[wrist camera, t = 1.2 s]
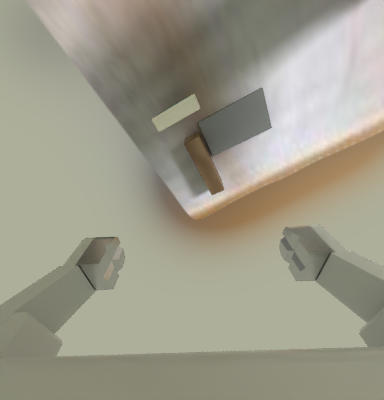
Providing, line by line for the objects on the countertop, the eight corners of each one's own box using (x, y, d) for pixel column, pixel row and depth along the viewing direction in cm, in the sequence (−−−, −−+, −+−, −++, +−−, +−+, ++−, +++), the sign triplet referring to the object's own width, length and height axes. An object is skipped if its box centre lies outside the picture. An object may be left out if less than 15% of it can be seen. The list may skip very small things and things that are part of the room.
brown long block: (198, 131, 33) (198, 136, 29) (221, 180, 38) (224, 190, 35) (185, 138, 33) (184, 144, 30) (210, 185, 39) (211, 195, 35)
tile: (194, 92, 29) (194, 92, 22) (199, 104, 30) (200, 108, 23) (160, 112, 31) (150, 118, 24) (166, 123, 32) (158, 132, 25)
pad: (261, 87, 28) (262, 87, 28) (270, 127, 32) (271, 127, 31) (198, 122, 32) (198, 122, 31) (212, 154, 35) (212, 155, 34)
